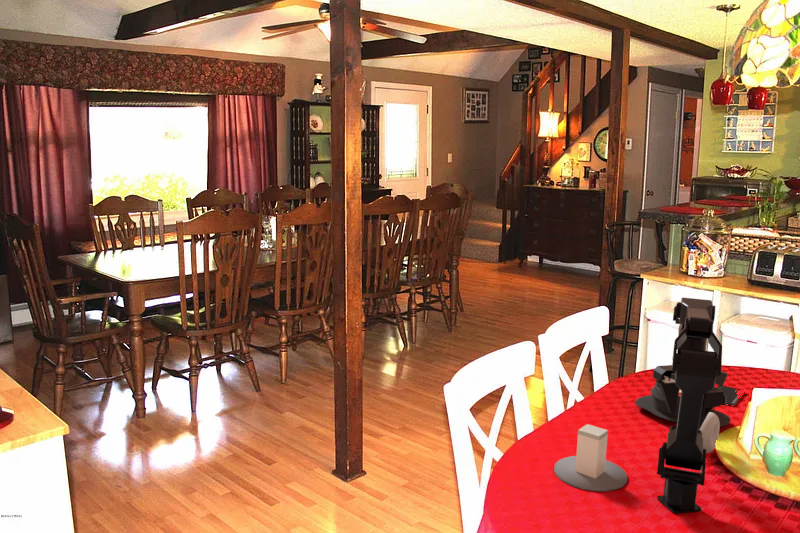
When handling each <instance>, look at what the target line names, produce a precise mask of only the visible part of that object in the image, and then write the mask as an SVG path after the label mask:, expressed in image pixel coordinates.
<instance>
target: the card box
mask: <svg viewBox="0 0 800 533" xmlns="http://www.w3.org/2000/svg"><path fill="white" fill-rule="evenodd" d="M608 436H609V430H608V429H606V428H602V427H598V426H596V425H592V424H588V423H587V424H585V425H584V426H582V427H581V428H579V429H578V430H577V442H576V455H575V456H576V467H575V472H578V473H581V474H584V475H587V476H590V477H593V478H595V479H596V478H597V477H599V476H600V475H601V474H602V473H604V472H605V461H606V460H607V448H608V446H607V445H608V438H609V437H608Z"/></svg>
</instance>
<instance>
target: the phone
mask: <svg viewBox="0 0 800 533" xmlns="http://www.w3.org/2000/svg"><path fill="white" fill-rule="evenodd" d="M715 388H717V389H719V390H721V391H723V392H724V393H725V394H726V404H728V405H735V404H736V403H737V401H738V400H739V399H740V397H741V396H740V397H739V399H738V398H737V395H738V394H736V393H737V391H736V392H735V390H736V389H738V390H742V389H740V388H735V387H731V386H727V385H723V387H721V386H719V385H717V386H715ZM740 400H741V399H740ZM740 400H739V401H740ZM737 404H738V403H737ZM737 404H736V405H737ZM736 405H735V406H736Z"/></svg>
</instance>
